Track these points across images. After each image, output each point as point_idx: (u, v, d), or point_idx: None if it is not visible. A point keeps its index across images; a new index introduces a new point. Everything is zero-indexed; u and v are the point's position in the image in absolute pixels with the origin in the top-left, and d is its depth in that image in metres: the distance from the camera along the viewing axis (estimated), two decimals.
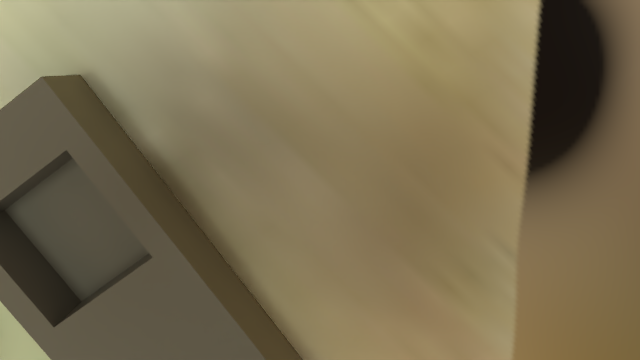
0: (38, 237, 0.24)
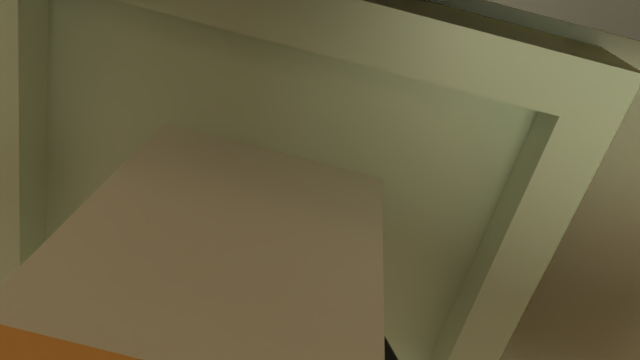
0: None
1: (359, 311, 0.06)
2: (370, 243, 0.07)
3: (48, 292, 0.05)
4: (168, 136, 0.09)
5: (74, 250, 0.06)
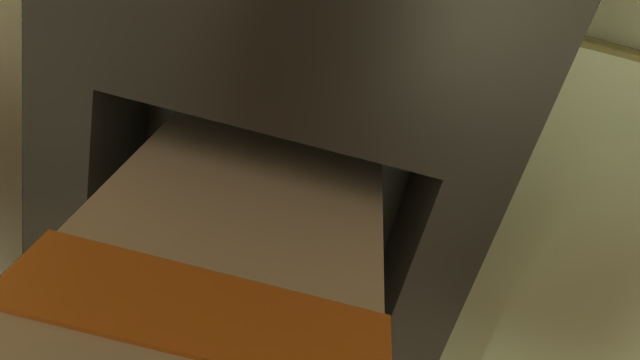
0: None
1: (363, 242, 0.07)
2: (371, 194, 0.08)
3: (113, 218, 0.06)
4: None
5: (128, 190, 0.07)
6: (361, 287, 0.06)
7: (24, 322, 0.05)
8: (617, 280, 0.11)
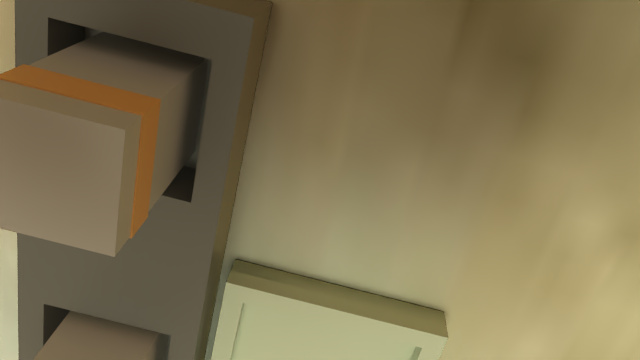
0: None
1: None
2: (151, 336, 0.22)
3: (46, 358, 0.20)
4: None
5: (53, 345, 0.21)
6: None
7: None
8: None
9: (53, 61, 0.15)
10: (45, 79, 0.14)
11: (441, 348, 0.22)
